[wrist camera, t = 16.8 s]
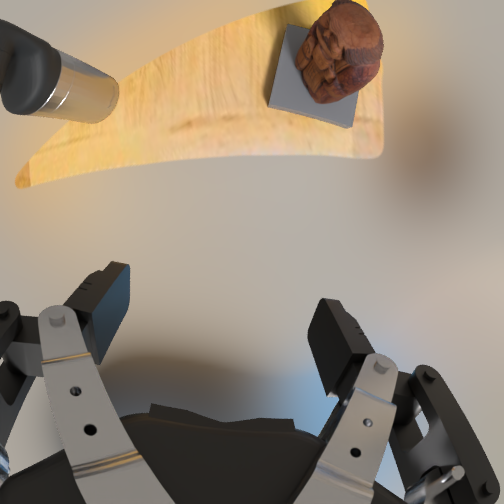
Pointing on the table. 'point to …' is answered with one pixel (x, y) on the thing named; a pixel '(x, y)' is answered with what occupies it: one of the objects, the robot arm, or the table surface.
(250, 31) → the table surface
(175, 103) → the table surface
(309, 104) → the base
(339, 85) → the wooden figurine
